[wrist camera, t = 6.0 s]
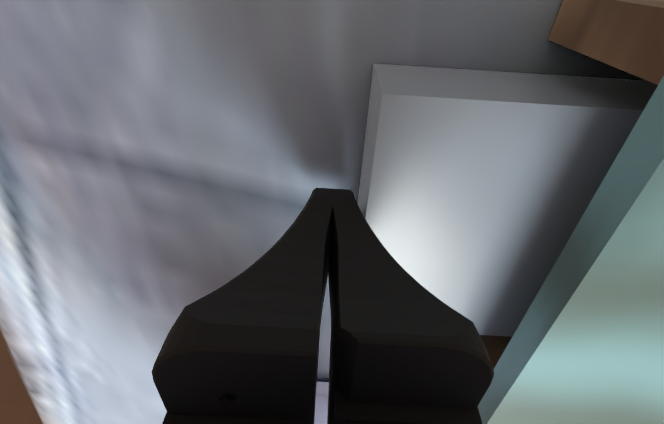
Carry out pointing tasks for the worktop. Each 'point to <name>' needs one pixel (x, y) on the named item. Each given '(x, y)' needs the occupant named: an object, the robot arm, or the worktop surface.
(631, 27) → the overhang bridge
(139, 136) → the worktop surface
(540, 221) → the flat grey cuboid
